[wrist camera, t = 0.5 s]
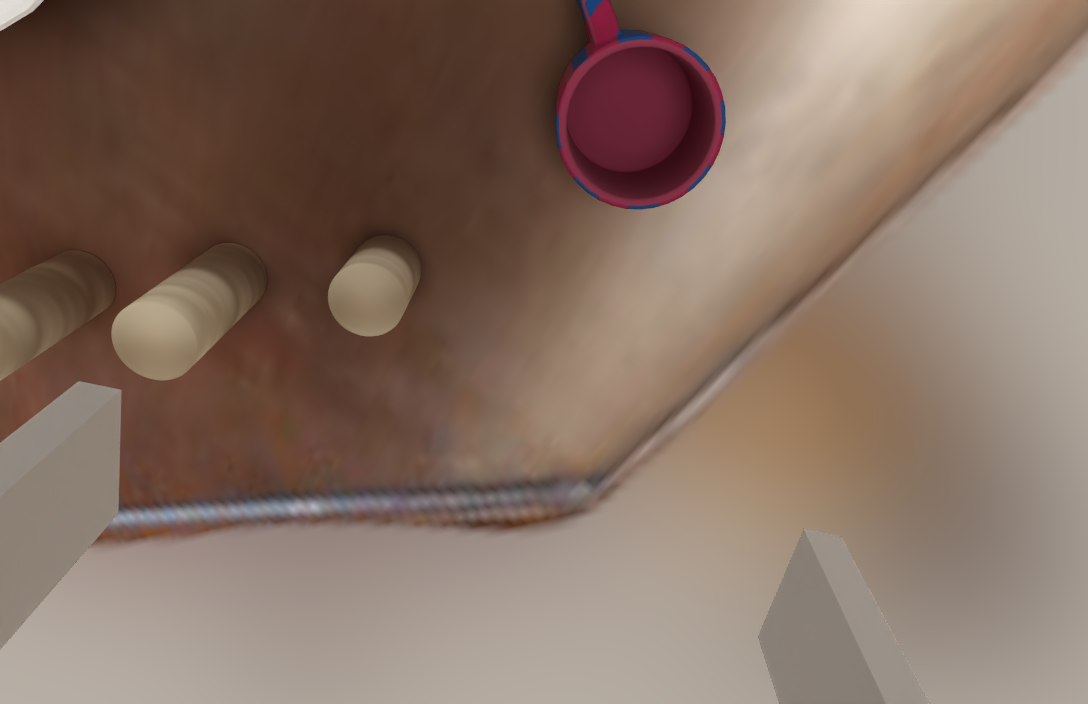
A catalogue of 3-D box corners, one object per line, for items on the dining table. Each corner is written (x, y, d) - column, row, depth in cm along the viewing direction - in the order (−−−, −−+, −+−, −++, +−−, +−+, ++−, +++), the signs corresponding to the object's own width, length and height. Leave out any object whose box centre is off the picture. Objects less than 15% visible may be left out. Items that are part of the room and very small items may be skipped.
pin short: (348, 236, 41) (322, 265, 37) (417, 233, 41) (399, 262, 36) (358, 301, 43) (334, 337, 38) (424, 298, 42) (408, 334, 38)
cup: (576, 193, 40) (580, 228, 34) (519, -22, 36) (511, -28, 30) (710, 155, 39) (740, 184, 33) (666, -68, 36) (689, -83, 29)
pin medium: (192, 244, 41) (101, 304, 33) (260, 240, 41) (186, 300, 33) (207, 308, 43) (123, 381, 35) (273, 305, 43) (204, 378, 34)
